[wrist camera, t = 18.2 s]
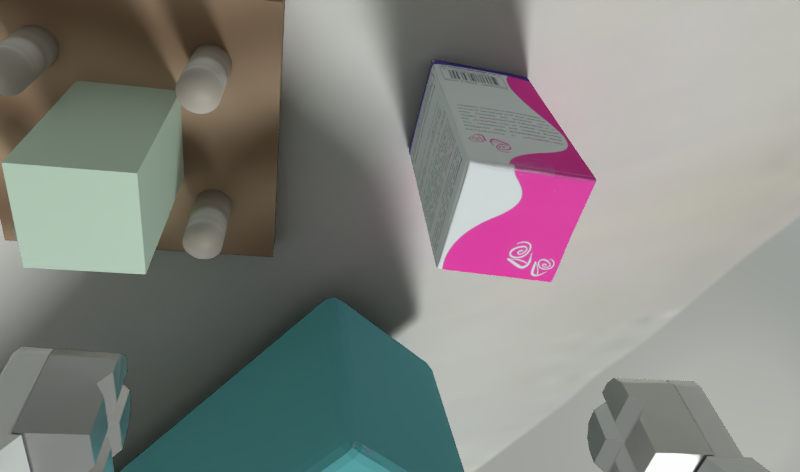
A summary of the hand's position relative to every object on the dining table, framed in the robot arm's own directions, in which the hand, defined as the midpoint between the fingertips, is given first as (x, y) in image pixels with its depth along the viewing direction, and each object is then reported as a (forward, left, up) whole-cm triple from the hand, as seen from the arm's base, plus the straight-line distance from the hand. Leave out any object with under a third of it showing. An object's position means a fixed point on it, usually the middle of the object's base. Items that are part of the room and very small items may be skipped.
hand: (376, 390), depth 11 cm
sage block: (+8, -10, -25) cm, 28 cm away
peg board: (+8, -10, -27) cm, 30 cm away
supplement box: (+6, +8, -27) cm, 28 cm away
